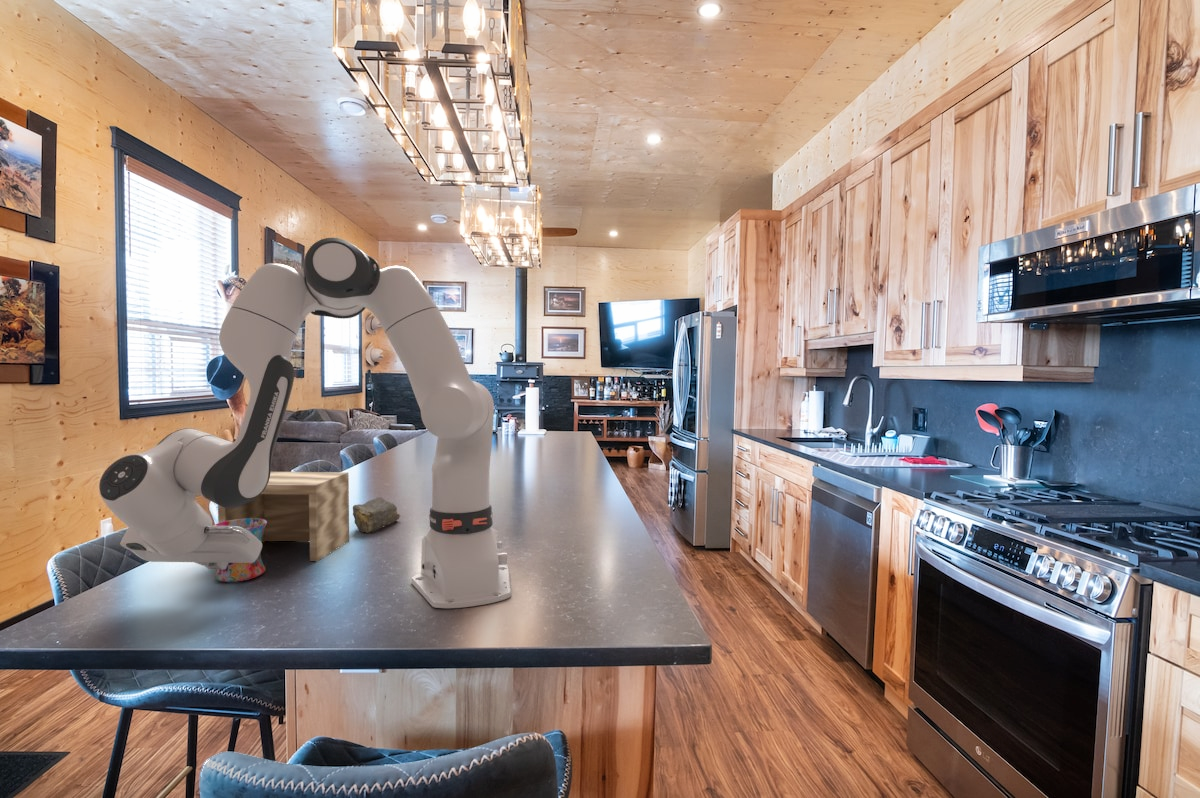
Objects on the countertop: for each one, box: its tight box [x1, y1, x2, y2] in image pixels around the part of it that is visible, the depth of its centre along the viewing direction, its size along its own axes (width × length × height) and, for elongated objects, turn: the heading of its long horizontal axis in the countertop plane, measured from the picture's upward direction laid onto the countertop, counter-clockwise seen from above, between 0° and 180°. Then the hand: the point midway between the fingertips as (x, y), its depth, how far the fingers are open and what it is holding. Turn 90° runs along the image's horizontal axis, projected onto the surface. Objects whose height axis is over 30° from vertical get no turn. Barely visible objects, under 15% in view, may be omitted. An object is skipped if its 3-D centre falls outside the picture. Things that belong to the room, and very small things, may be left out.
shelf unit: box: [217, 471, 350, 562], centre depth 131 cm, size 16×21×16 cm
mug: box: [212, 518, 267, 583], centre depth 116 cm, size 12×9×11 cm
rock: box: [352, 496, 401, 534], centre depth 153 cm, size 17×7×10 cm
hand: (219, 565), depth 109 cm, fingers closed
